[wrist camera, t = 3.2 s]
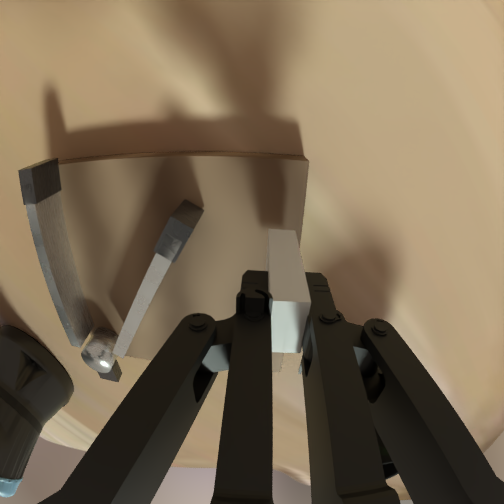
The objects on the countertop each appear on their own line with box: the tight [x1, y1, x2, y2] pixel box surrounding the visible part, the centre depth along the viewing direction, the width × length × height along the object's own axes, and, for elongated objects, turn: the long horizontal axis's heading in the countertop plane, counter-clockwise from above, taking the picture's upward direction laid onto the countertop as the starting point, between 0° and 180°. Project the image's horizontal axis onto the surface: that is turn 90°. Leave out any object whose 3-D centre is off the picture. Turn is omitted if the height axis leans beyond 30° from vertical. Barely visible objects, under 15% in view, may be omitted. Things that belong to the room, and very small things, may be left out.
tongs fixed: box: [18, 158, 122, 382], centre depth 19 cm, size 4×20×3 cm, turn 178°
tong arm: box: [112, 199, 205, 358], centre depth 18 cm, size 1×13×3 cm, turn 148°
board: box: [58, 152, 309, 372], centre depth 21 cm, size 18×18×2 cm
